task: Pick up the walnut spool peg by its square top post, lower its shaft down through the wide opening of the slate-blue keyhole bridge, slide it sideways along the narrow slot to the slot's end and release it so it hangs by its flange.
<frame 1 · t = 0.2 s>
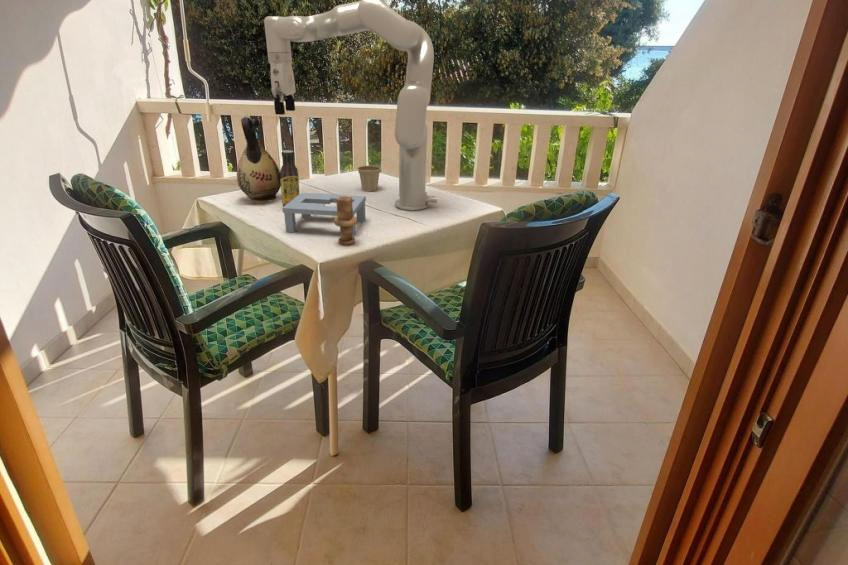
hand: (285, 112, 171), 31 cm above the table, tool pointing down, fingers open, 9 cm apart
walnut peg: (346, 242, 147), on the table
ceramic jug: (261, 200, 183), on the table
sauce bottle: (292, 207, 176), on the table
keyhole bridge: (327, 225, 160), on the table
flower pot: (369, 189, 199), on the table
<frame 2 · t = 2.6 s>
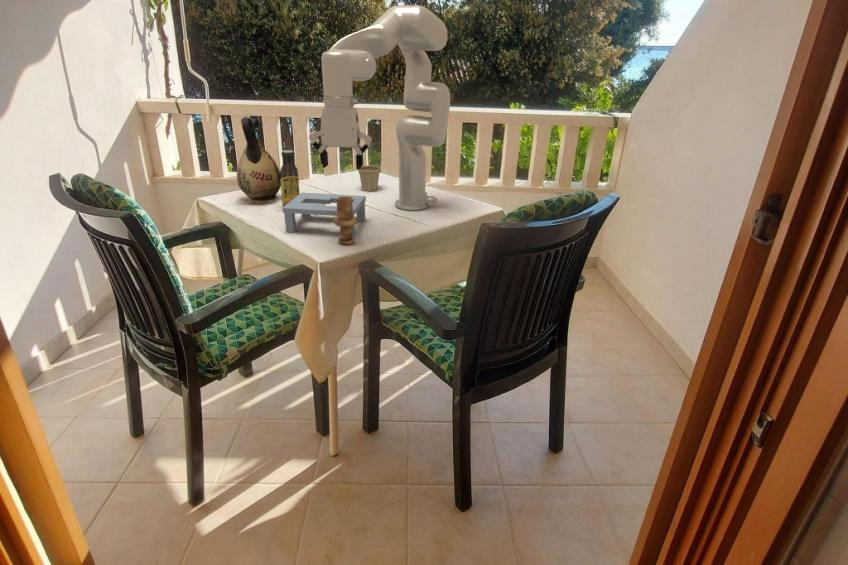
hand: (342, 167, 137), 22 cm above the table, tool pointing down, fingers open, 9 cm apart
nothing on the table moved.
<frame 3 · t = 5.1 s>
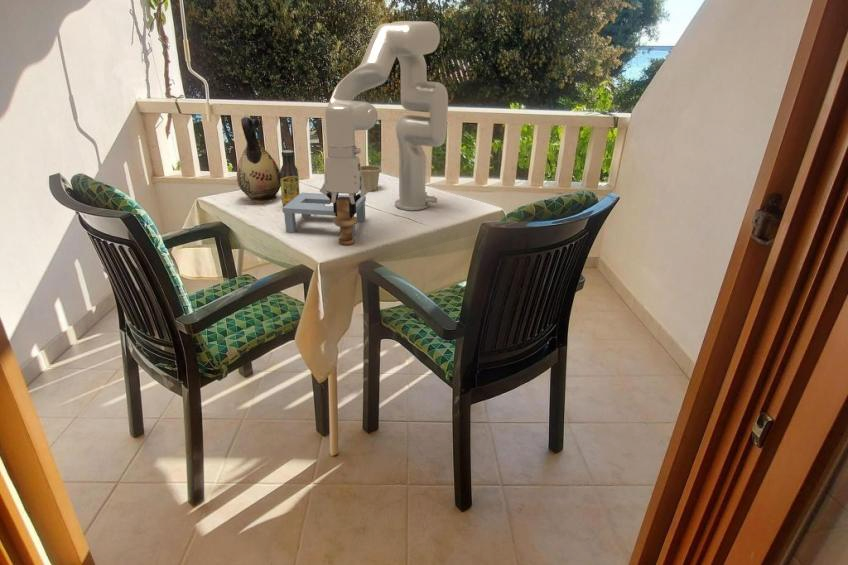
hand: (345, 214, 144), 9 cm above the table, tool pointing down, fingers closed on walnut peg, 3 cm apart
walnut peg: (346, 242, 147), on the table, touching gripper
everything else where it was.
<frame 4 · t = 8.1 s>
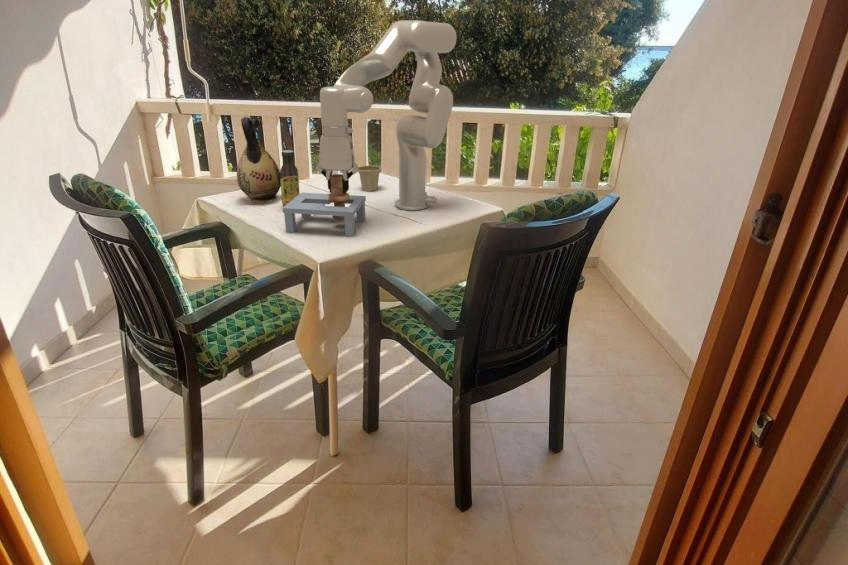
hand: (338, 191, 154), 12 cm above the table, tool pointing down, fingers closed on walnut peg, 3 cm apart
walnut peg: (340, 217, 158), point 3 cm above the table, touching gripper
everything else where it was.
when the fingers open (11 cm above the table, at t = 11.1 s): walnut peg stays where it is, resting on keyhole bridge.
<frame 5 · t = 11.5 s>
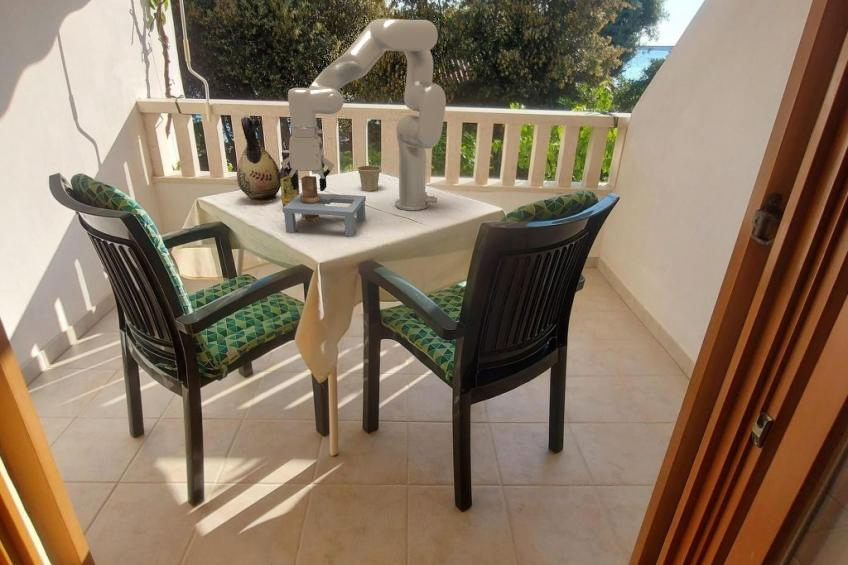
hand: (309, 189, 155), 12 cm above the table, tool pointing down, fingers open, 8 cm apart
walnut peg: (312, 218, 160), point 2 cm above the table, touching keyhole bridge
everything else where it was.
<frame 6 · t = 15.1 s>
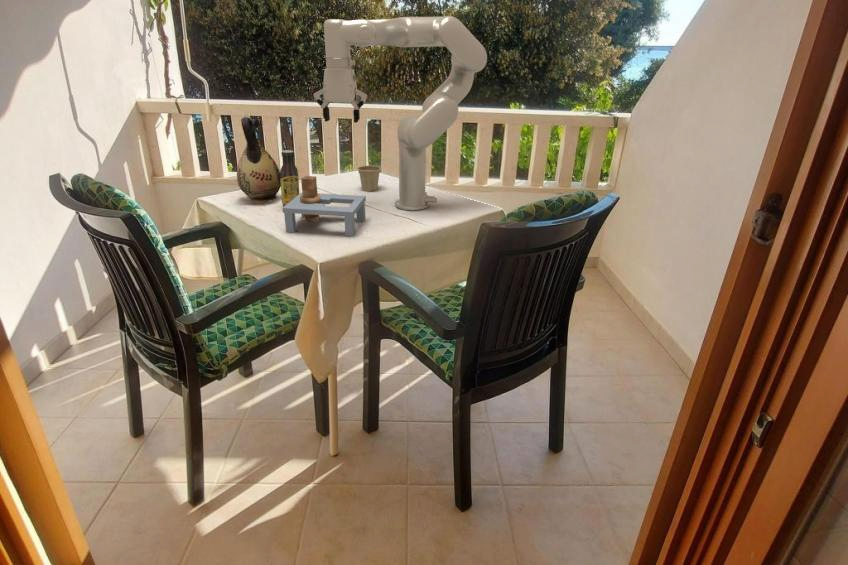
hand: (341, 121, 160), 30 cm above the table, tool pointing down, fingers open, 9 cm apart
nothing on the table moved.
at the end: walnut peg 0.4 cm from the target spot, point 2.0 cm above the table; walnut peg tilted 0°; the gripper is holding nothing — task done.
